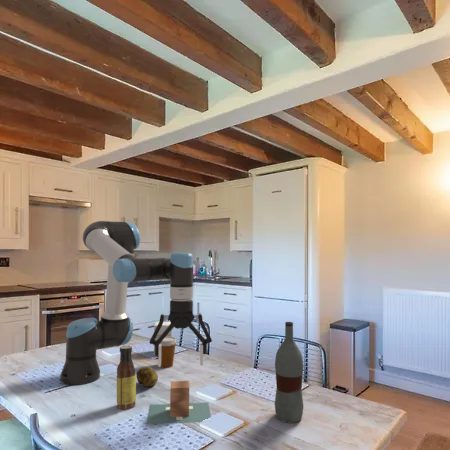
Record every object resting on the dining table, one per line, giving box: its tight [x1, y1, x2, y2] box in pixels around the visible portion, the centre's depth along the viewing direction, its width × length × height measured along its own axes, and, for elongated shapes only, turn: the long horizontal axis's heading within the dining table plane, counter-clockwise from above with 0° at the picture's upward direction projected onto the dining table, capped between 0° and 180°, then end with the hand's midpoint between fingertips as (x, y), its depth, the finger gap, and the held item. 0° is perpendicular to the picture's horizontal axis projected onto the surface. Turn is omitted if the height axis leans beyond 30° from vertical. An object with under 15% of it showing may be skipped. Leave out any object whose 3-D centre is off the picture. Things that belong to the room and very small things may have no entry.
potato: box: [136, 366, 159, 387], centre depth 146 cm, size 8×13×8 cm, turn 156°
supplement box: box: [153, 321, 173, 357], centre depth 190 cm, size 9×9×15 cm
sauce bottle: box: [116, 345, 137, 410], centre depth 127 cm, size 6×6×20 cm
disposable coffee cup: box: [157, 336, 178, 369], centre depth 170 cm, size 10×10×12 cm
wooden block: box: [169, 380, 190, 417], centre depth 122 cm, size 6×6×9 cm
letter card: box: [146, 402, 212, 425], centre depth 122 cm, size 20×14×1 cm
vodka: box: [274, 321, 304, 423], centre depth 121 cm, size 9×9×30 cm
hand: (180, 365), depth 123 cm, fingers open, 13 cm apart
